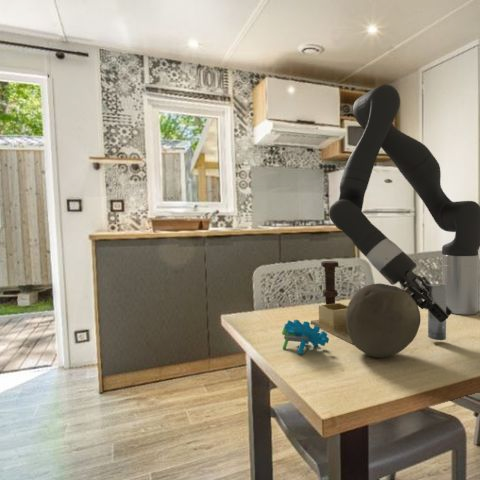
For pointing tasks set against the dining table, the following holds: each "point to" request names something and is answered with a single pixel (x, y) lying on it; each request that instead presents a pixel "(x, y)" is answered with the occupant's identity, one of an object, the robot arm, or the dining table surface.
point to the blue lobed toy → (303, 334)
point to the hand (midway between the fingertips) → (446, 317)
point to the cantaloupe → (382, 320)
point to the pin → (434, 325)
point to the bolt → (330, 281)
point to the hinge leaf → (333, 320)
